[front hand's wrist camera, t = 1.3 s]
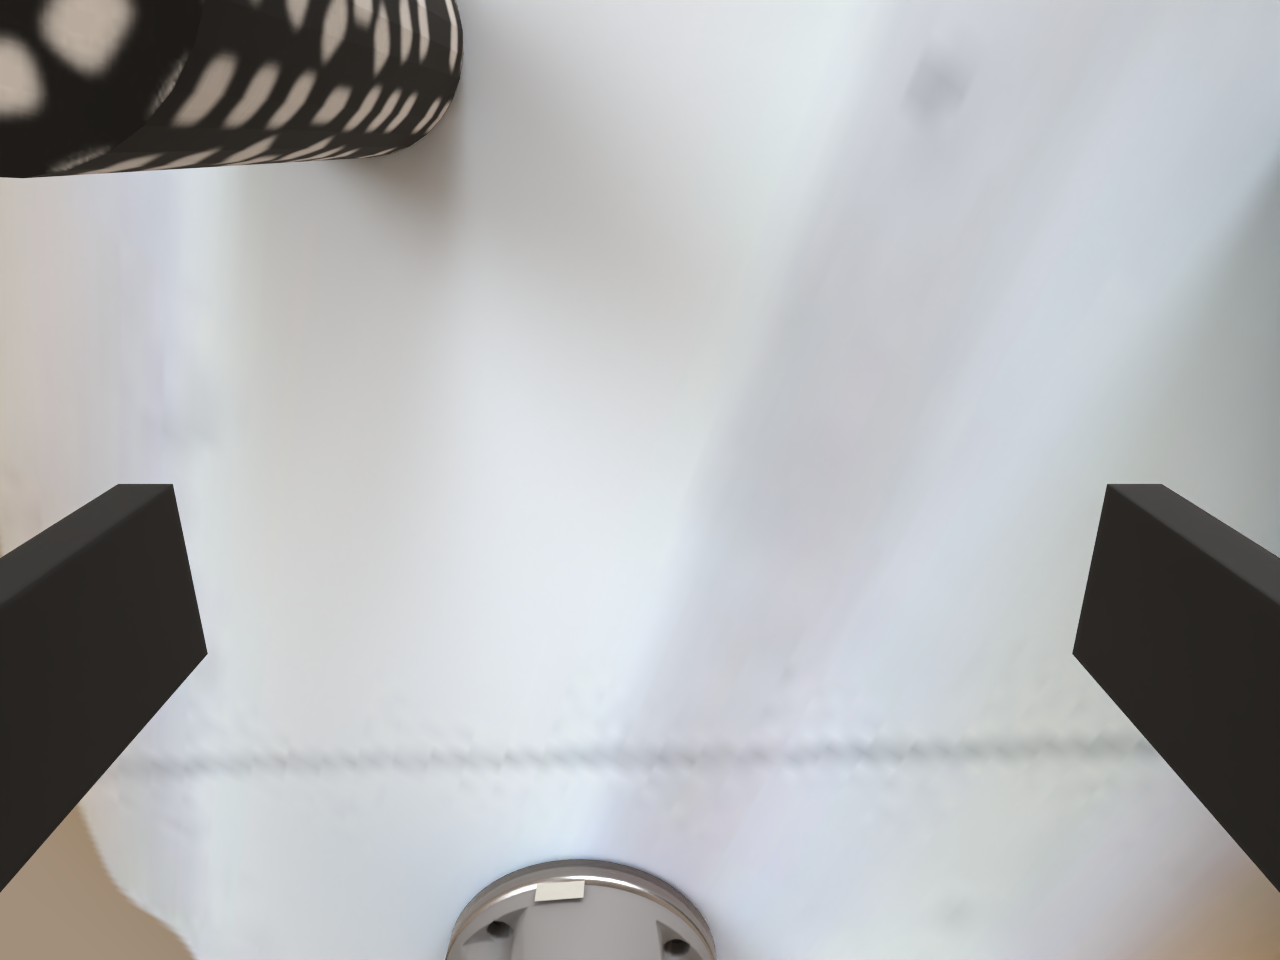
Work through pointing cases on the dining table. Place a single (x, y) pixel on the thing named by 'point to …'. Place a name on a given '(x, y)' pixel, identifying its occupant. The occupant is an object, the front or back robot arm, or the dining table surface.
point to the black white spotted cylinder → (218, 81)
